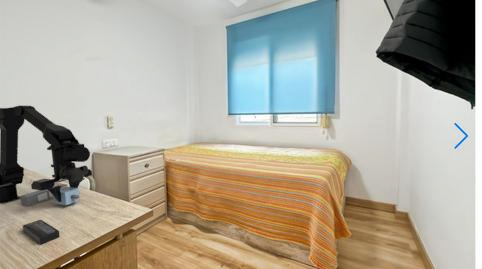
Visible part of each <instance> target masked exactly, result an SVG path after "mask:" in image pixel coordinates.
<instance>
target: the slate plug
mask: <svg viewBox="0 0 482 269" xmlns="http://www.w3.org/2000/svg"><path fill="white" fill-rule="evenodd" d="M79 192H80V191H79V187H78V188H73V187H70V186H67V187H63V188H60V193H61V202H58V201H57V200H56V198H55V197H54V196H53V198H52V199H53V202H52V203H53V204H56V205H62V206H68V205H70V204H73V203H75V202H78V201H80V193H79Z"/></svg>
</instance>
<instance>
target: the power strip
mask: <svg viewBox="0 0 482 269" xmlns="http://www.w3.org/2000/svg"><path fill="white" fill-rule="evenodd" d="M58 184H59V186H61V188H63V187H68V183H62V182H58ZM51 199H53V194H52V193H51V192H50V191H49V190H48V189H46V190H42V191H41V190H35V191H32V192H29V193H26V194H22V195H20V203H21V206H22V207H23V206H24V207H31V206H33V205H36V204H39V203H42V202H45V201H48V200H51Z"/></svg>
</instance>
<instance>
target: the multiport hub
mask: <svg viewBox="0 0 482 269" xmlns="http://www.w3.org/2000/svg"><path fill="white" fill-rule="evenodd" d="M22 229H23V230H22V231H23V233H25V234H26V235H28V237H30V238H31V239H33V241H35V242H36V243H38V244H39V245H40V246H43V245H44V244H47V243H49V242H51V241H54V240H56V239H59V238H60V231H59V229H57V228H55V227H54V226H52V225H50V224H49V223H47V222H45V221H44V220H42V219H37V220H35V221H31V222H28V223H26V224H24V225H22Z"/></svg>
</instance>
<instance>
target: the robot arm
mask: <svg viewBox="0 0 482 269" xmlns="http://www.w3.org/2000/svg"><path fill="white" fill-rule="evenodd" d="M25 121H27V123H29V124H31V125H32V126H33V127H34V128H36V129H37V130H38V131H40V132H41V133H42V138H43V139H44V140H45V141H46V142H47V143H48V144H49V146H47V148H46V150H47V151H51V156H52V163H51V164H50V168H53V174H52V175H51V176H52V179H51V178H42V179H36V180H34V181H32V182H31V186H30V187H31V190H35V191H38V190H41V191H42V190H46V189H48V190H49V191H50V192H51V193H52V194H53V196H54V197H55V198H56V200H57V201H58V202H61V193H60V188H61V186H59V184H58V183H62V182H65V181H68V185H69V186H68V187H73V188H78V189H79V185H80V184H81V182H83V181H84V180H85V178H88V177H89V178H90V177H91V176H93V172H92V170H91V169H90V168H88V166H87V165H81V166H78V167H77V166H76V163H75V162H77V163H80V162H81V163H84V162H86V161H88V160H89V159H90V156H91V152H90V149H89V148H88V147H86V146H85V144H84V143H80V141H79V140H78V139H77V138H76V137H75V135H74V134H73V132H72V130H71V129H69V128H67V127H65V126H63V125H59V124H57V123H54V122H52V121H51V120H50V119H49V118H47V116H45V115H43V114H42V113H41V112H39V111H38V110H36V108H35V106H32V105H16V106H11V107H0V204H6V203H10V202H13V201H15V200H19V199H20V200H21V198H20V196H21V195H20V196H19V195H18V188H17V185H20V184H22V183H23V181H24V180H23V179H24V176H25V174H24V173H25V168H24V166H21V165H20V164H19V163H18V158H19V157H18V154H19V153H18V151H19V150H18V149H19V130H20V129H21V128H22V126H23V125H24V124H25Z"/></svg>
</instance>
